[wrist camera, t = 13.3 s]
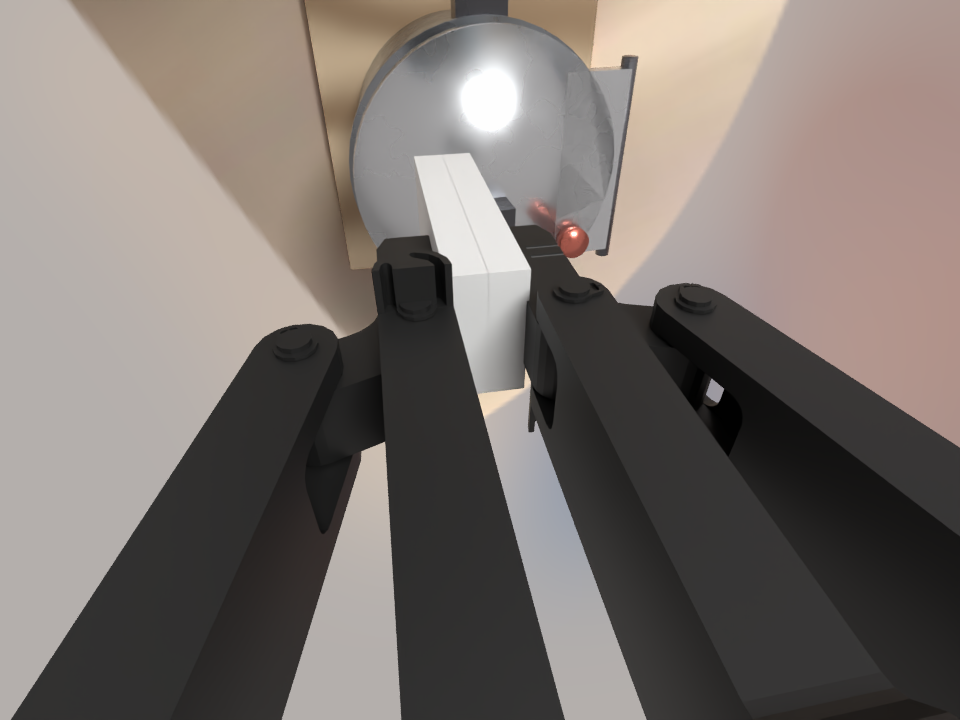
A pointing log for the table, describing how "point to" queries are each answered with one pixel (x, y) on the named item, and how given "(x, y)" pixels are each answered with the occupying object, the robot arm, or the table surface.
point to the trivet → (355, 43)
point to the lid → (499, 132)
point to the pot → (468, 6)
